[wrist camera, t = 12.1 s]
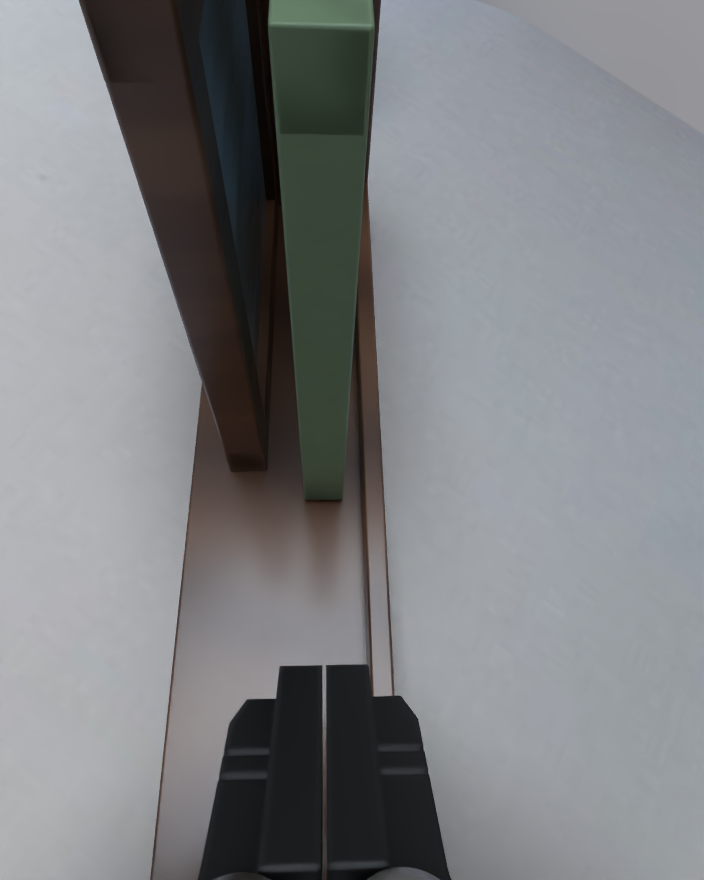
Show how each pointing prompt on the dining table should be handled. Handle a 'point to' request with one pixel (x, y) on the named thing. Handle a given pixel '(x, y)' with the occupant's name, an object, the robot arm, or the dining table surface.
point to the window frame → (243, 397)
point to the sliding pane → (322, 209)
